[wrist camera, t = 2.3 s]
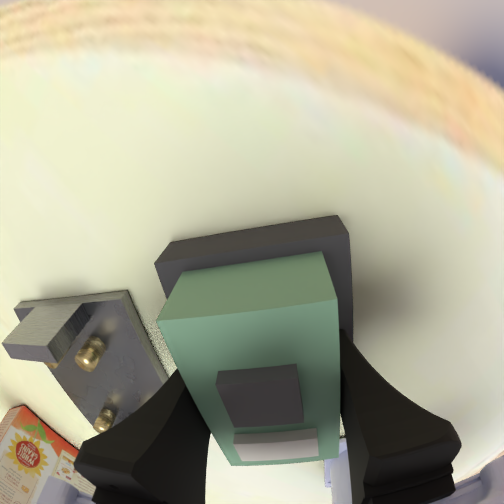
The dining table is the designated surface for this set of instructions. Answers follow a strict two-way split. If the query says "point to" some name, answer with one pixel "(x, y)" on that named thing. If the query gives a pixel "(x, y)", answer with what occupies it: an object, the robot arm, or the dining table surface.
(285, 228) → the pad
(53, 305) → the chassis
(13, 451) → the cracker box
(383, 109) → the dining table surface
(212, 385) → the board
